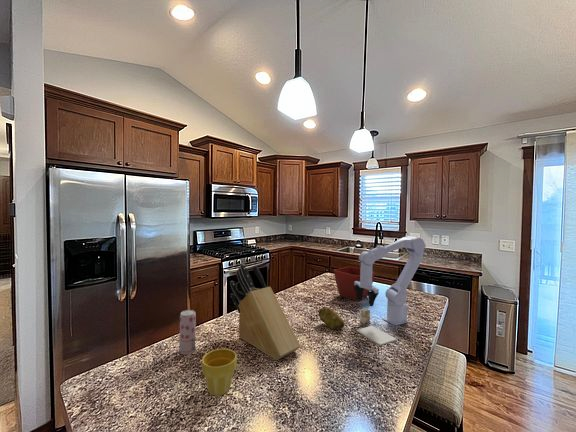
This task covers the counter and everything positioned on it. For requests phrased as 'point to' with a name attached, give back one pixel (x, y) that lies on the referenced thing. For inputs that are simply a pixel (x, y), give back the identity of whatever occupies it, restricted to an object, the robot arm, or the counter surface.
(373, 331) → the mat
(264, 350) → the knife block
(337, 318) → the potato
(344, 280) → the plant pot
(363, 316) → the green-faced wooden block
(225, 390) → the plant pot
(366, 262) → the robot arm
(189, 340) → the beverage can
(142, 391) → the counter surface
